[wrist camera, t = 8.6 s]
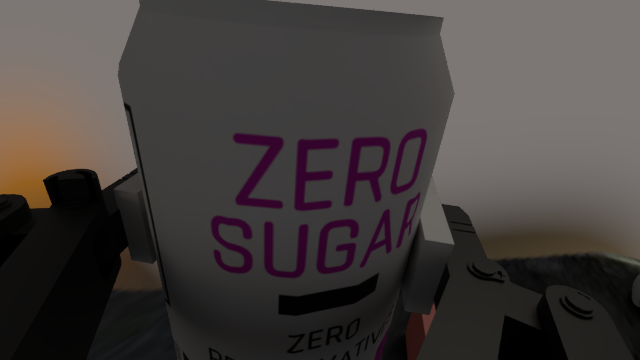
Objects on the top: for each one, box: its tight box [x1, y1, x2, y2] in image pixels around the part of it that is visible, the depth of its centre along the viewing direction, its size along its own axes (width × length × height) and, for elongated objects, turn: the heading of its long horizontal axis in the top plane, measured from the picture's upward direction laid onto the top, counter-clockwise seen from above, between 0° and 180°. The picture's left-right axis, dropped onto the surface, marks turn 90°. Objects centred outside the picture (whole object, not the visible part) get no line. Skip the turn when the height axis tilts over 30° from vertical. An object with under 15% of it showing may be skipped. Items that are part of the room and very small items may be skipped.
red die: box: [405, 304, 436, 360], centre depth 27 cm, size 6×6×6 cm
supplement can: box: [118, 0, 454, 360], centre depth 11 cm, size 8×8×15 cm
